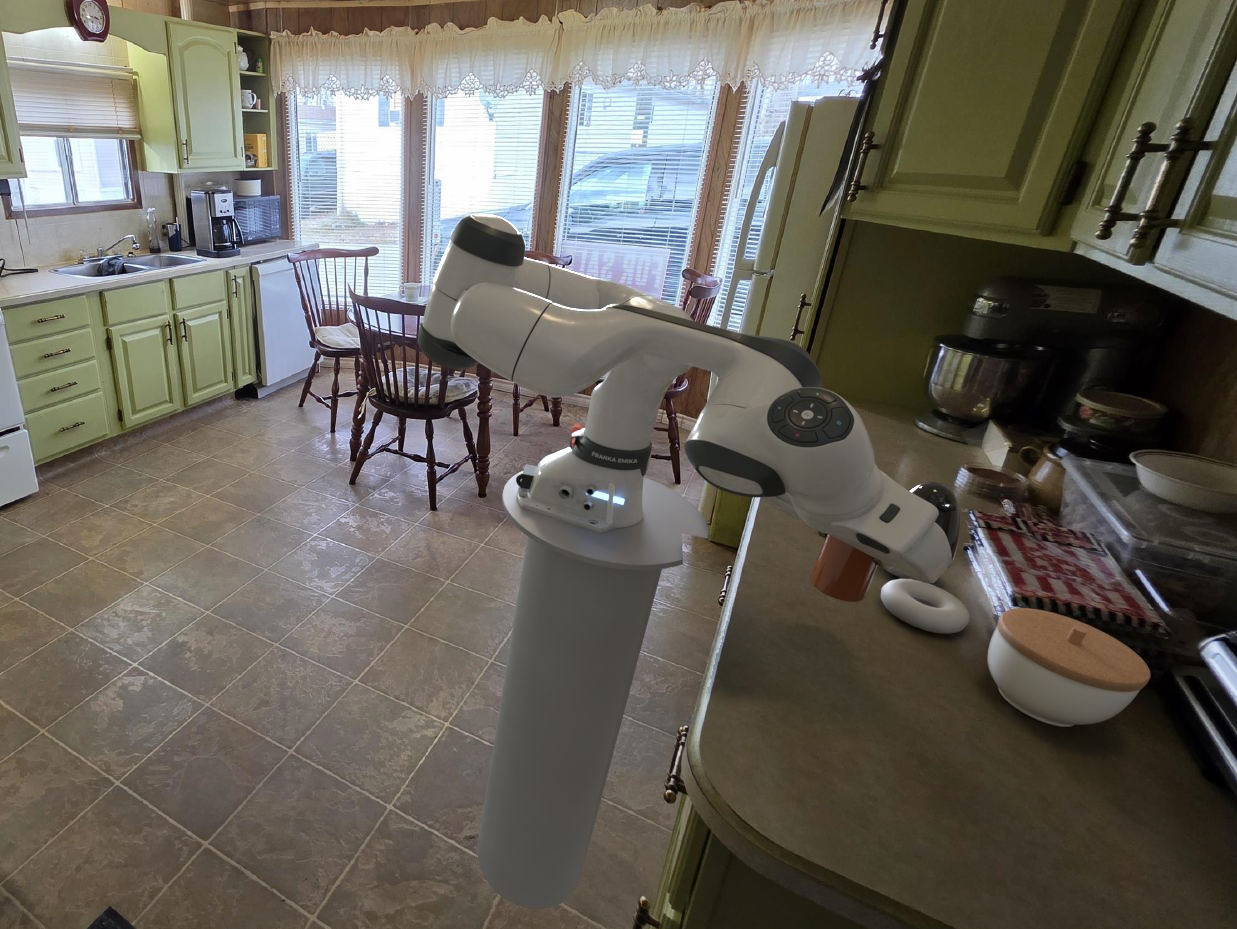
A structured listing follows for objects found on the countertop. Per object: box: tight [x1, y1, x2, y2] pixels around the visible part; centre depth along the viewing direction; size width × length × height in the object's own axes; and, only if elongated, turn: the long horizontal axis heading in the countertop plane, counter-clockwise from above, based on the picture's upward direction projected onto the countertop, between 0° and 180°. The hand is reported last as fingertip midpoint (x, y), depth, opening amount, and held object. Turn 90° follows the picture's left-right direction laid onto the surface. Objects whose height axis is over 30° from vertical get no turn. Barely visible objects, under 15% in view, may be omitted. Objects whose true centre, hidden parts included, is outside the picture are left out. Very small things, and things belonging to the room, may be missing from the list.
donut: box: [880, 578, 970, 635], centre depth 94 cm, size 10×4×10 cm
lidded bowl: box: [986, 607, 1151, 728], centre depth 78 cm, size 13×13×11 cm
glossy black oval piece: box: [882, 481, 961, 581], centre depth 101 cm, size 10×10×15 cm
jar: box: [810, 534, 879, 603], centre depth 84 cm, size 6×6×13 cm
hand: (855, 547), depth 84 cm, fingers closed on jar, 6 cm apart
